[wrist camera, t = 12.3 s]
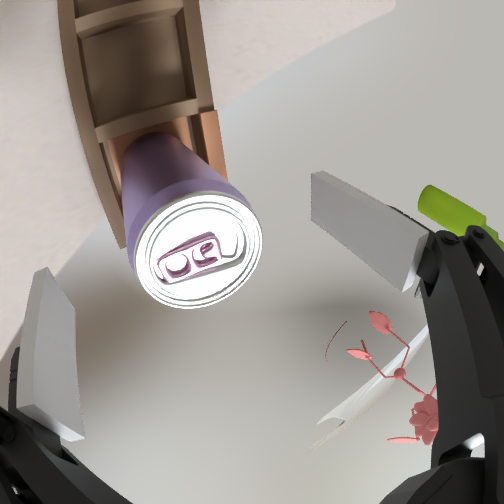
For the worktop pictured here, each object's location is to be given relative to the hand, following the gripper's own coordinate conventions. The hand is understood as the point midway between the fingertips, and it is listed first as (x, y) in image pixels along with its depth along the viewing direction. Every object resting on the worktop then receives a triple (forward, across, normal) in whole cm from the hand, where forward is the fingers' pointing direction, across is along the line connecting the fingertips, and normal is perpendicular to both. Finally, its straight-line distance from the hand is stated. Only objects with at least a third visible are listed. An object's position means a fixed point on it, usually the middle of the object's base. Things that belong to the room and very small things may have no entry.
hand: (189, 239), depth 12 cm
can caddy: (+15, 0, +9) cm, 17 cm away
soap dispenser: (+14, +46, -16) cm, 50 cm away
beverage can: (+14, 0, 0) cm, 14 cm away
